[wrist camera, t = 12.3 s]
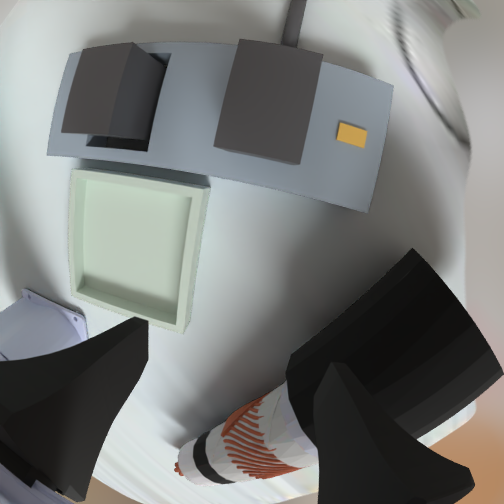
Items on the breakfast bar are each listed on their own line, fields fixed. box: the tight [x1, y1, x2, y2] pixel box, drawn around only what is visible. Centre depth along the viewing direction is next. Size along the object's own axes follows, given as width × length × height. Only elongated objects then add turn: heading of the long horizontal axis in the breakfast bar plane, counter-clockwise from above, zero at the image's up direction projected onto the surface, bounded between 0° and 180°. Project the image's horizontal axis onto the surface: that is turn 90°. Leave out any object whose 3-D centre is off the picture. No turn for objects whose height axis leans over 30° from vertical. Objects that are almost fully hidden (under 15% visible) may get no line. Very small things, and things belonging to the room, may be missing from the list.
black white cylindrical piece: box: [174, 248, 504, 486], centre depth 19 cm, size 10×34×10 cm, turn 139°
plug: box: [61, 42, 167, 141], centre depth 13 cm, size 4×5×6 cm
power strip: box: [47, 0, 394, 214], centre depth 11 cm, size 22×16×6 cm
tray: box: [68, 168, 211, 334], centre depth 18 cm, size 10×10×2 cm
